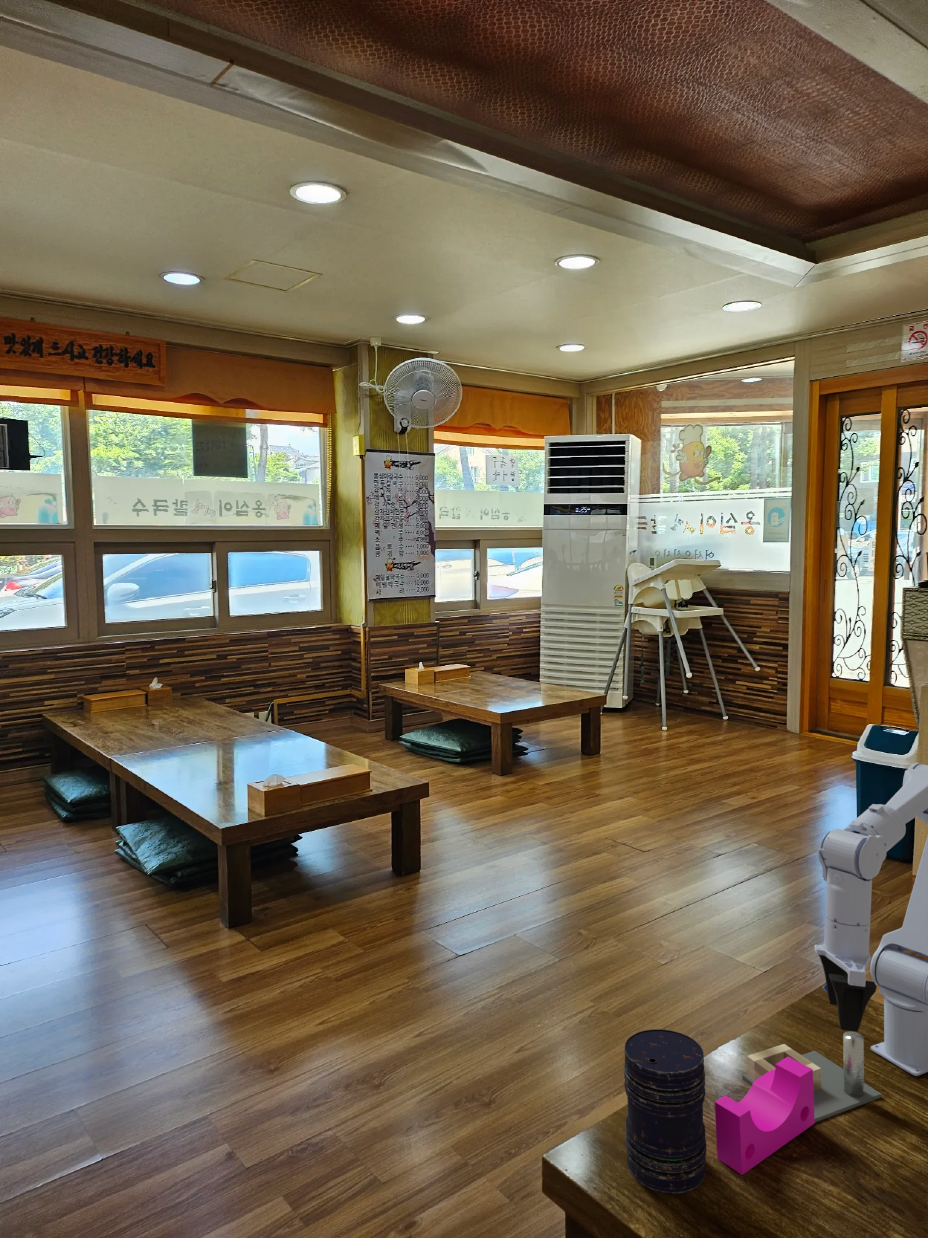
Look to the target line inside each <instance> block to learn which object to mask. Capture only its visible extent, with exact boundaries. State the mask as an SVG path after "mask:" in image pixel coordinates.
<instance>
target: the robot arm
mask: <svg viewBox="0 0 928 1238" xmlns="http://www.w3.org/2000/svg"><path fill="white" fill-rule="evenodd" d="M916 817H917V818H918V819H919V820H920V821H922V822H923V823H925V824H926V826H927V827H928V765H927V764H924V763H922V762H914V763H912V764H911V765H910V766H909V768H907V769H906V770H904V775H903V781H902V787H900V789H899V790H898V791H897V792H895V794H894V795H893V796H892V797H891V798H890V799H889V800H888V801H887V802H886V804H881V803H879V804H875V803H872V804H871V805H870V806H868V808H867V809H865V811H863V812H862V814H860V815H859V816H858V817H857V818H855V819H854V820H853V821H852V822H851V823H849V824H848V825H847V826H846V827H845V828H843V829H841V828H835V829H832V830H829V831H827V832H826V833H825V834H824V835H823V836H822V839H821V841H820V845H819V848H818V851H817V854H818V855H817V856H818V860H819V861H818V862H819V863H820V865H821V868H822V878H823V880H824V881H825V883H826V885H825V886H826V888H825V889H826V890H825V908H824V909H825V910H824V912H825V913H824V932H823V944H814V952H815V954H817V955H818V957H819V959H820V962H821V965H822V968H823V972H824V978H825V979H824V980H825V985H826V992H827V997H828V1001H829V1004H830V1005H833V1006H837V1016H838V1022H839V1026H840V1029H841V1030H842V1031H847V1032H848V1031H851V1032H856V1033H859V1030H860V1026H861V1024H862V1020H863V1017H864V1013H865V1010H866V1007H867V1005H868V1003H869V1001H870V1000H871V998H872V997H873V996H874V995H875V994H876V991H877V987H879V988H878V990H879V991H878V992H879V995H881V996H883V1019H884V1020H883V1021H884V1022H883V1029H884V1030H883V1031H884V1033H883V1036H884V1037H883V1039H884V1041H882V1042H879V1043H877V1044H874V1045H871V1046H870V1050H871V1051H872V1052H874V1053H875V1054H877V1055H879V1056H881V1058H884V1059H885V1060H887V1061H889V1062H891V1063H892V1064H893V1065H896V1066H897V1067H899V1068H901V1069H902V1070H904V1071H905V1072H907V1073H908V1074H911V1075H912V1076H914V1077H919V1076H921V1075H923V1074H926V1073H928V835H927V837H926V840H925V844H924V847H923V851H922V855H921V858H920V861H919V865H918V868H917V871H916V872H917V874H916V875H915V880H914V883H913V887H912V890H911V894H910V898H909V901H908V905H907V909H906V913H905V916H904V918H903V923H902V926H901V927H900V928H898V929H895V930H892V931H890V932H889V931H888V932H887V933H885V934H883V935H882V937H881V940H880V942H879V945H878V948H877V949H876V950H875V951H874V953H873V955H872V957H871V954H870V935H871V933H870V932H871V911H872V893H873V892H872V889H873V878H876V877H877V876H878V874H879V873H880V871H881V867H882V865H883V863H884V861H885V860H886V857H887V852H888V851H889V850H891V849H892V848H893V847H894V846H896V844H898V843H899V842H900V841H901V840H902V839H903V838H904V837H905V835H906V830H907V828H906V827H907V826H906V824H907V823H909V822H910V821H912V820H913V819H915V818H916ZM908 952H911V953H908ZM912 953H913V954H912ZM914 954H916V955H918V956H916V955H914ZM920 956H922V957H924V958H922V957H920ZM925 958H927V959H925ZM869 964H870V967H869ZM868 967H869V971H870V972H869V973H870V976H871V979H872V981H871V980H867V979H866V975H867V969H868Z"/></svg>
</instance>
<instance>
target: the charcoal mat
mask: <svg viewBox="0 0 928 1238" xmlns="http://www.w3.org/2000/svg"><path fill="white" fill-rule="evenodd" d="M801 1055H802V1056H803V1057H805V1058H806V1059H808V1060H809V1061H811V1062H812V1063H814V1064H815V1065H817V1066H818V1067H820V1068H821V1089H819V1090H817V1091H814V1119H815V1123H818V1122H820V1121H822V1120H825V1119H828V1118H831V1117H834V1116H836V1115H839V1114H841V1113H843V1112H847V1111H849V1110H851V1109H854V1108H856V1107H859V1106H862V1105H865V1104H867V1103H870V1102H873V1101H875V1100H877V1099H880V1098H882V1093H881V1092H879V1091H877V1090H876V1088H873V1087H872V1086H870V1085H869V1084H867V1083H865V1082H864V1095H863V1096H862V1097H858V1098H857V1097H851V1096H849V1095H847V1094H846V1093H845V1092H844V1070H843V1068H842V1067H841V1066H839V1065H838V1064H836V1063H834V1062H833V1061H832V1060H830V1059H828V1058H827V1057H825V1056H823V1054H821V1053H819V1052H818V1051H816V1050H812V1051H809V1052H807V1053H806V1052H805V1053H803V1054H801ZM741 1077H742V1079H743V1080H744V1081H745V1082H746V1083H748V1084H749V1085H751V1086H752V1084H753V1082H754V1081H753V1080H752V1079H751V1078H750V1077H748V1076H747V1073H743V1074H742V1075H741Z"/></svg>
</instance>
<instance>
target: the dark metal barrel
mask: <svg viewBox="0 0 928 1238" xmlns="http://www.w3.org/2000/svg"><path fill="white" fill-rule="evenodd" d="M623 1073H624V1075H623V1077H624V1082H623V1083H624V1085H623V1086H624V1090H625V1094H626V1097H627V1115H626V1118H625V1146H626V1164H627V1169H628V1171H629V1173H630V1174H631V1176H632V1177H633V1178H634V1179H635V1181H637V1182H639V1184H641V1185H643V1186H644V1187H646V1188H648V1189H650V1190H653V1191H654V1192H655V1191H656V1192H659V1193H664V1194H683V1193H686V1192H690V1191H693V1190H695V1189H697V1188H698V1187H699V1186H700V1185H701V1184H702V1183H703V1182H704V1181H705V1177H706V1175H707V1174H706V1173H707V1169H706V1168H707V1167H706V1160H707V1157H706V1156H707V1139H706V1126H705V1124H704V1123H705V1122H704V1102H705V1098H706V1073H705V1053H704V1049H703V1047H702V1045H700V1043H698V1042H697V1040H695V1039H694V1038H693V1037H690V1036H689V1035H686V1034H684V1033H682V1032H679V1031H674V1030H671V1029H669V1030H668V1029H661V1028H659V1029H658V1028H655V1029H654V1028H653V1029H646V1030H641V1031H638V1032H635V1033H633V1034H631V1036H629V1037H628V1038H627V1039H626V1041H625V1042H624V1066H623Z"/></svg>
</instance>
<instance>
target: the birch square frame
mask: <svg viewBox="0 0 928 1238" xmlns="http://www.w3.org/2000/svg"><path fill="white" fill-rule="evenodd" d="M802 1055H803V1054H800V1053H799V1052H797V1051H795V1050H794V1049H793V1048H791V1047H789V1046H788V1045H787V1044H785V1043H783V1044H780V1045H779V1044H778V1045H776V1046H774V1047H770V1048H767V1049H764V1050H761V1051H758V1052H755V1053H751V1054H749V1055H746V1067H747V1068H746V1070H747V1071H746V1074H747V1076H748V1077H750V1078H751V1079H752V1080H753V1081H755V1080H756V1079H758V1078H760V1077H761V1076H763V1075H764V1074H766V1073H768V1072H769V1071H771V1070H772V1069H773V1070H775V1065H776V1064H777V1063H778V1062H780V1061H781V1060H783V1059H785V1058H786V1057H790V1058H792V1059H794V1060H796V1061H798V1062H800V1063H802V1064H803V1065H805V1066H807V1067H809V1068H811V1069H813V1092H814V1091H817V1090H819V1089H821V1068H820V1067H818V1066H817V1065H815V1064H814V1063H812V1062H811V1061H809V1060H808V1059H806V1058H805V1057H803V1056H802Z"/></svg>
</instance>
